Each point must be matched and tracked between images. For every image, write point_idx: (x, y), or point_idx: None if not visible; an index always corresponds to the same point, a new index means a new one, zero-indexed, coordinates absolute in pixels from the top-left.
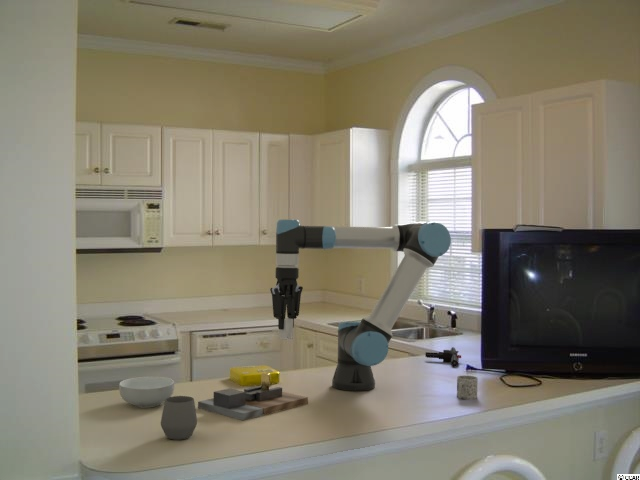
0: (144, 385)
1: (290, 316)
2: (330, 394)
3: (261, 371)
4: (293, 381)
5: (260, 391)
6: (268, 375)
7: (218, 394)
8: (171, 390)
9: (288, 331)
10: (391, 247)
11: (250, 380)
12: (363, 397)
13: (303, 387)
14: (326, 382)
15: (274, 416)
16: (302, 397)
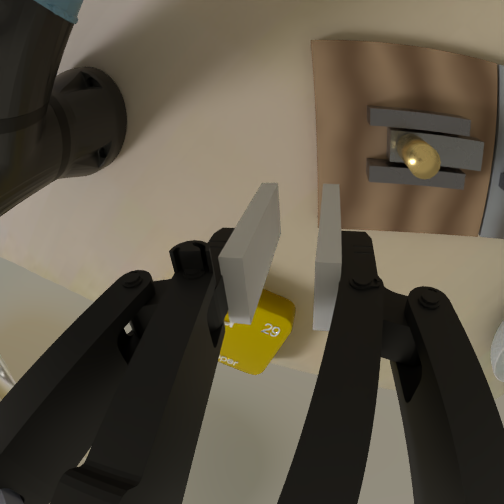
0: (499, 366)
1: (217, 301)
2: (177, 83)
3: (226, 315)
4: (165, 253)
5: (457, 129)
6: (427, 144)
7: None
8: None
9: (270, 229)
10: None
11: (276, 303)
12: (135, 11)
13: (183, 192)
14: (108, 193)
15: (478, 33)
16: (326, 49)
